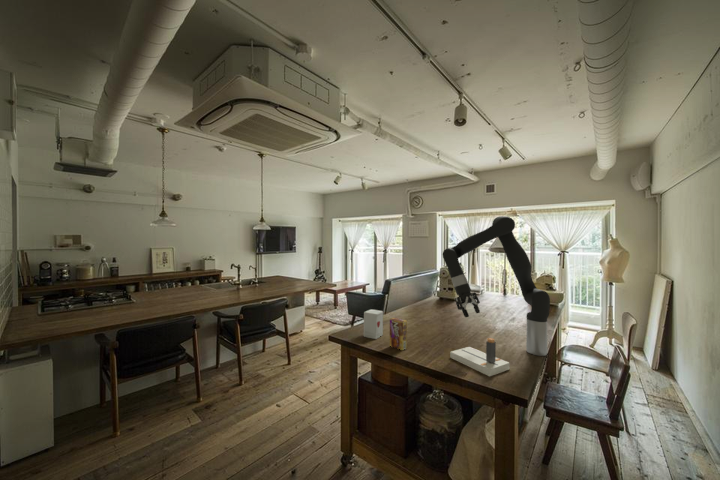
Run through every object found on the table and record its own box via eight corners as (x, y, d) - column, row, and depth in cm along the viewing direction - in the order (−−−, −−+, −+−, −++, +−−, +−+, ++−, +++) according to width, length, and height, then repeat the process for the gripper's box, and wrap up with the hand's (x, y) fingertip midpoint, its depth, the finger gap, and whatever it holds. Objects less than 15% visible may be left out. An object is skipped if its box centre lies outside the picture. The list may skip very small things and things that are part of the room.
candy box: (407, 348, 151) (407, 320, 151) (402, 351, 148) (402, 322, 148) (393, 344, 158) (393, 317, 158) (389, 346, 154) (389, 318, 154)
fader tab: (490, 359, 131) (490, 337, 131) (496, 362, 128) (496, 339, 128) (485, 361, 129) (485, 338, 129) (491, 363, 126) (491, 340, 126)
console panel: (469, 352, 147) (469, 346, 147) (509, 369, 128) (509, 362, 128) (450, 357, 140) (450, 351, 140) (489, 376, 121) (489, 368, 121)
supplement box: (376, 339, 165) (376, 314, 165) (363, 336, 170) (363, 311, 170) (383, 335, 173) (383, 310, 173) (370, 332, 177) (370, 308, 177)
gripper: (456, 285, 142) (469, 317, 137) (475, 280, 149) (487, 310, 145) (446, 288, 148) (458, 319, 144) (464, 283, 155) (476, 312, 151)
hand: (472, 315), depth 144 cm, fingers open, 8 cm apart
